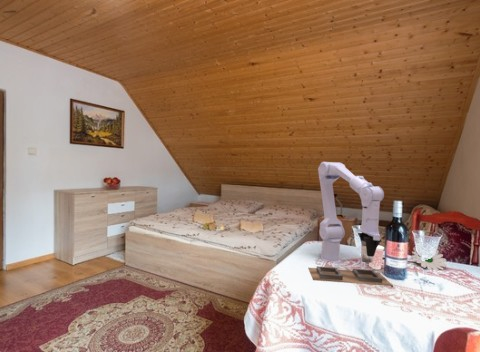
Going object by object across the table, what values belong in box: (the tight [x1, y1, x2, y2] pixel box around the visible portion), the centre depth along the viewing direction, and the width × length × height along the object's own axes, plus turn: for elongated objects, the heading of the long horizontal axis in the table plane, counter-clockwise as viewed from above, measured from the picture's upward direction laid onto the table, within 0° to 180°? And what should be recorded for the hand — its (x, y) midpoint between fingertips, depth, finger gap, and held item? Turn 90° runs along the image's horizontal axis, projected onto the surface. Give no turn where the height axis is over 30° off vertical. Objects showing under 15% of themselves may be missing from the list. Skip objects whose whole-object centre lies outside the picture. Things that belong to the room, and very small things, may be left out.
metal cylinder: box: [360, 240, 373, 264], centre depth 104 cm, size 4×4×8 cm
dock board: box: [308, 266, 394, 288], centre depth 105 cm, size 12×28×2 cm, turn 85°
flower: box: [382, 247, 447, 272], centre depth 124 cm, size 13×6×30 cm
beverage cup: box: [368, 245, 385, 270], centre depth 116 cm, size 6×6×14 cm
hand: (368, 254), depth 104 cm, fingers closed on metal cylinder, 4 cm apart
